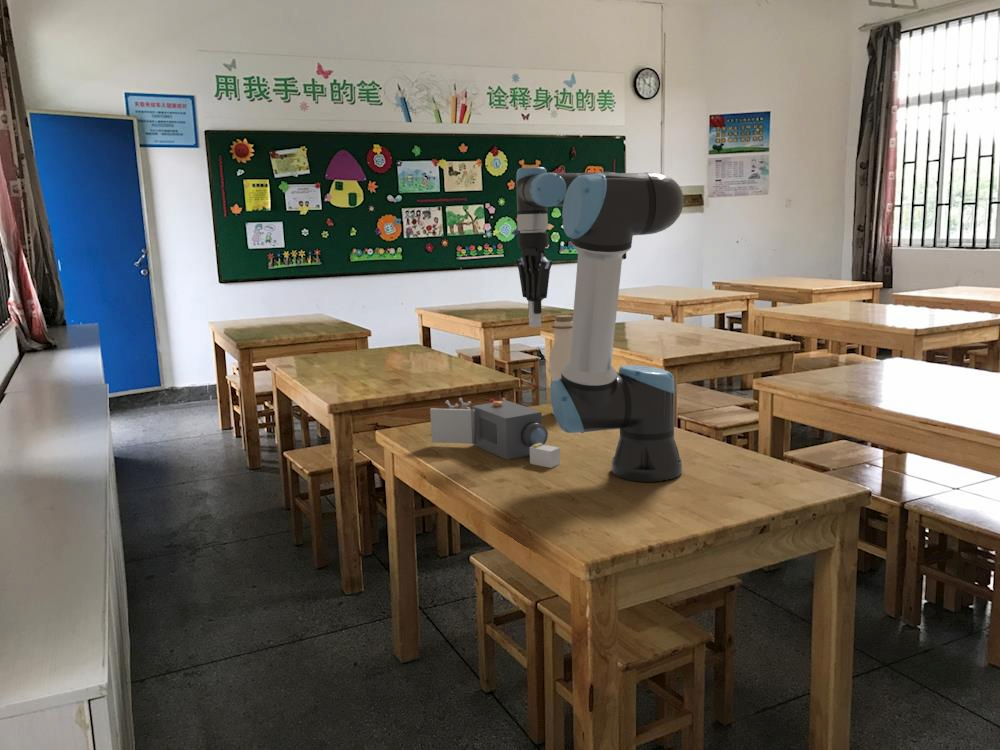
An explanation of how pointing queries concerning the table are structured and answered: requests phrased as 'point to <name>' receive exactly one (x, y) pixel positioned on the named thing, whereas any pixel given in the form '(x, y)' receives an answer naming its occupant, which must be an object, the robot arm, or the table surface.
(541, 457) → the block
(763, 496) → the table surface
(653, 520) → the table surface
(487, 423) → the grey box
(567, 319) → the water bottle
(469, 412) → the side door
